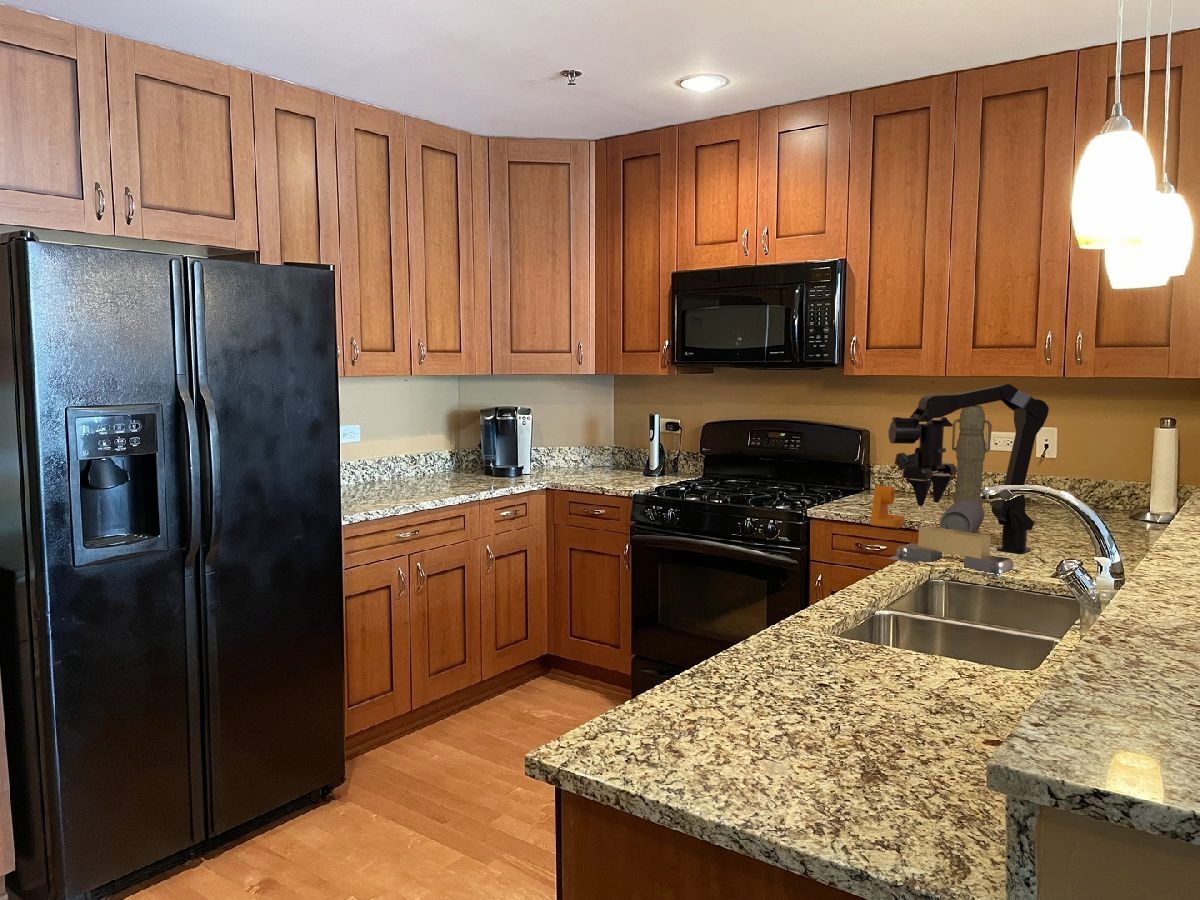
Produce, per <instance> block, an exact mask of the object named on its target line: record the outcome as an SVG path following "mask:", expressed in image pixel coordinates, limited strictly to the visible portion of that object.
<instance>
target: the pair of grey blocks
mask: <svg viewBox="0 0 1200 900" xmlns="http://www.w3.org/2000/svg"><path fill="white" fill-rule="evenodd" d="M895 554H896V555H893V556H890V557H888V559H889V560H896V561H902V560H904V561H902V562H907V563H912V562H913V564H918V563H917V562H918V561H922V562H934V561H937V560H940V559H942V558H943V552H939V551H933V550H927V549H922V548H918V543H908V544H904V545H900V546H898V547H897V548H896V550H895ZM963 561H964V568H970V569H975V570H978V571H984V572H989V573H994V574H987V573H977V574H979V575H983V576H991V577H996V578H1003V579H1006V578H1007V577H1004V576H999V575H1000V574H1002V573H1005V572H1007V571H1010V570H1013V571H1018V573H1020V572H1021V570H1019V569H1013V568H1014V566H1015V565H1014V564H1015V563H1014V562H1013V560H1012V559H1011V558H1010V557H1009V558H1008V557H1002V556H996V555H990V557H987V558H983V559H978V558H972V557H967V556H964V559H963ZM1019 571H1020V572H1019ZM961 572H964V571H963V570H962V571H961ZM973 574H975V573H974V572H973ZM997 574H999V575H997Z"/></svg>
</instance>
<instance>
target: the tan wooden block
mask: <svg viewBox="0 0 1200 900" xmlns="http://www.w3.org/2000/svg"><path fill="white" fill-rule="evenodd" d="M917 539H918V542H917V544H918V548H922V549H927V550H933V551H939V552H942V553H945V554H951V555H956V556H962V557H965V556H967V557H972V558H978V559H983V558H987V557H990V554H991V552H990V551H991V539H992V537H991V535H988V534H987V535H986V534H982V533H976V532H975V533H969V532H963V531H957V530H950V529H944V528H940V527H937V526H930V525H927V526H921V527H918V538H917Z"/></svg>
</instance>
